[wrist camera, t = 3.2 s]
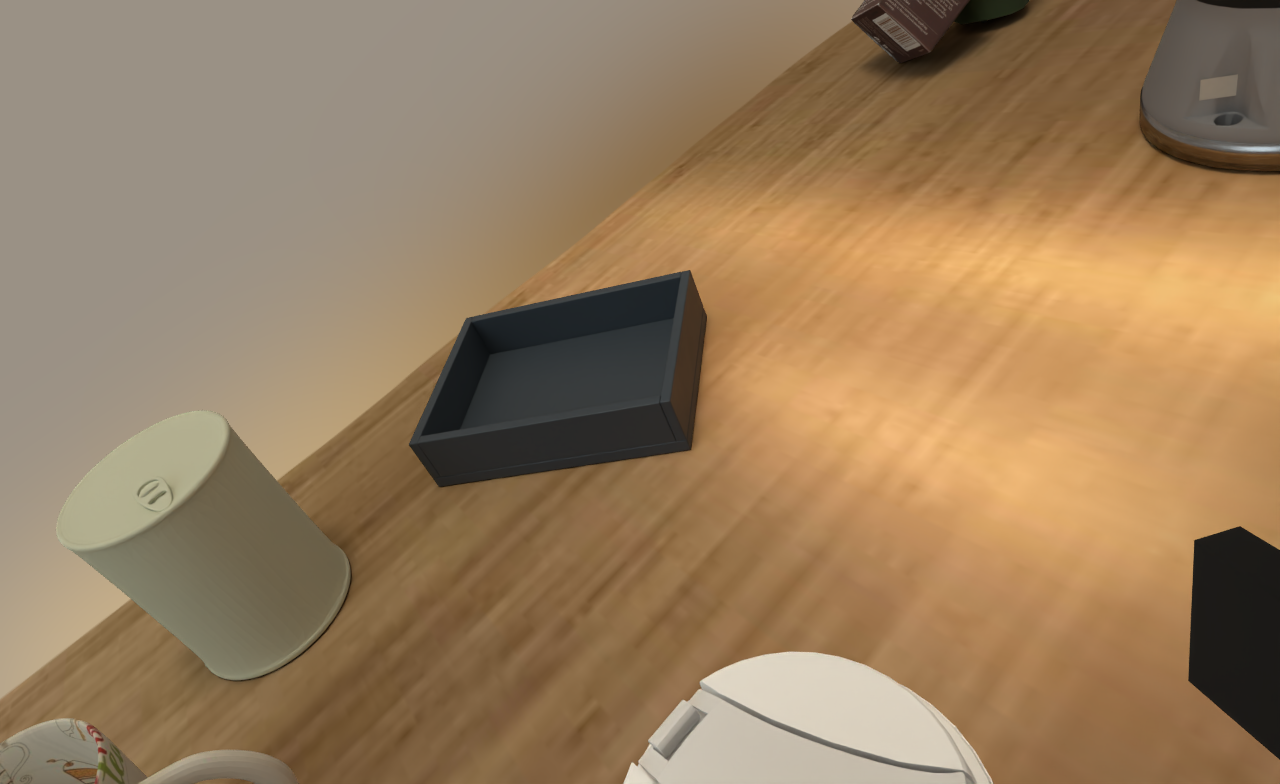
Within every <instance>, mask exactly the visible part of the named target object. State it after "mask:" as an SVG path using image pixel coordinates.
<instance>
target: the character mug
mask: <svg viewBox="0 0 1280 784" xmlns="http://www.w3.org/2000/svg"><path fill="white" fill-rule="evenodd" d="M1028 2H1029V0H970V1H969V2H968V3H967V5H966V6H965V7H964V9H963V10H962V11H961V13H960V14H959V15H958V17H957V18H956V19H955V21H954V22H956V23H959V24H967V23H972V22H978V21H981V23H986V22H987V20H989V19H994V18H998V17H1002V16H1006V15H1010V14H1012V13H1014V12H1016V11H1019V10H1021V9H1023V8H1024V7H1025V6H1026V4H1027V3H1028Z"/></svg>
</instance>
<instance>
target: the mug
mask: <svg viewBox="0 0 1280 784" xmlns="http://www.w3.org/2000/svg"><path fill="white" fill-rule="evenodd" d="M218 778H234V779H242V780H247V781H250V782H253V783H255V784H298V781H297V778H296V776H295V774H294V773H293V771H292V770H291V769H290V768H289V767H288V766H287V765H286V764H285V763H283V762H282V761H280V760H278V759H276V758H274V757H272V756H269V755H266V754H263V753H259V752H253V751H244V750H216V751H207V752H202V753H198V754H195V755H191V756H189V757H186V758H184V759H182V760H180V761H177V762H175V763H173V764H171V765H170V766H168V767H166V768H164V769H162V770H160V771H159V772H157V773H155V774H153V775H152V776H150V777H147V776H146V775H145V774H144V773H143V772H142V771H141V770H140V769H139V768H138V767H137V766H136V765H135V764H134V763H133V762H132V761H130V760H129V759H128V758H127V757H126V756H125V755H124V754H123V753H122V752H121V751H120V750H119V749H118V748H117V747H116V746H115V745H114V744H113V743H112V742H111V741H110V740H109V739H108V738H107V737H106V736H105V735H104V734H103V733H101V732H100V731H99V730H98V729H97V728H95V727H94V726H92V725H91V724H89V723H87V722H84V721H81V720H77V719H71V718H64V719H55V720H51V721H47V722H43V723H40V724H37V725H35V726H32V727H30V728H28V729H25V730H23V731H21V732H19V733H17V734H15V735H14V736H12V737H10V738H8V739H7V740H5V741H4V742H2V743H0V784H194V783H197V782H200V781H203V780H210V779H218Z"/></svg>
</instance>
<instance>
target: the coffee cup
mask: <svg viewBox="0 0 1280 784" xmlns="http://www.w3.org/2000/svg"><path fill="white" fill-rule="evenodd" d="M700 686H701V688H702V690H700V689H699V690H698V691H697V692H696V693H695V694H694V695H693V697H692V698H691V699H690V700H689V701H688V702H686V701H684V700H682V701H681V702H680V703H679V705H678V706H677V707H676V708H675V709H674V711H673V712H672V713H671V714H670V715H669V716H668V718H667V719H666V720H665V721H664V722H663V724H662V725H661V726H660V727H659V728H658V729H657V731H656V732H655V733H654V734H653V735H652V737H651V738H650V739H649V740H648V742H649V743H650V745H649V746H648V748H647V750H646V752H645V753H644V755H643V756H642V757H641V758H640V760H639V761H638V762H639V764H638V766H636V765H635V764H634V763H633V762H632V763H631V766H630V768H629V771H628V773H627V776H626V779H625V781H624V784H993V781H992V779H991V777H990V776H989V774H988V772H987V770H986V769H985V767H984V765H983V764H982V762H981V760H980V758H979V757H978V755H977V753H976V752H975V750H974V749H973V748H972V746H971V745H970V744H969V743H968V741H967V740H966V739H965V738H964V736H963V735H962V734H961V733H960V731H959V730H958V729H957V728H956V726H955V725H953V724H952V723H951V722H950V721H949V720H948V719H947V718H946V717H945V716H944V715H943V714H942V713H941V712H939V711H938V710H937V709H936V708H935V707H934V706H933V705H932V704H930V703H929V702H927V701H926V700H924V699H923V698H922V697H920V696H919V695H917V694H916V693H914V692H913V691H911V690H910V689H909V688H907V687H905V686H903V685H901V684H899V683H897V682H896V681H894V680H893V679H891V678H890V677H888V676H886V675H884V674H882V673H880V672H878V671H876V670H874V669H872V668H870V667H868V666H866V665H864V664H861V663H858V662H854V661H851V660H848V659H845V658H842V657H838V656H832V655H826V654H820V653H814V652H783V653H774V654H766V655H762V656H758V657H754V658H750V659H746V660H742V661H740V662H737V663H735V664H732V665H730V666H728V667H725V668H723V669H720V670H718V671H717V672H715V673H713V674H711V675H710V676H708V677H706V678H705V679H703V680H701V681H700Z"/></svg>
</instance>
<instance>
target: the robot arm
mask: <svg viewBox="0 0 1280 784" xmlns="http://www.w3.org/2000/svg"><path fill="white" fill-rule="evenodd" d="M1140 125H1141V129H1142V131H1143V133H1144V135H1145V136H1146V138H1147V139H1148V140H1149V141H1150V142H1151V143H1152V144H1153V145H1155V146H1156V147H1158V148H1159V149H1161V150H1162V151H1164V152H1166V153H1168V154H1170V155H1173V156H1175V157H1177V158H1180V159H1183V160H1186V161H1189V162H1193V163H1197V164H1201V165H1206V166H1211V167H1217V168H1225V169H1234V170H1250V171H1280V0H1177V1H1176V4H1175V6H1174V9H1173V11H1172V14H1171V16H1170V19H1169V21H1168V24H1167V26H1166V29H1165V31H1164V34H1163V36H1162V39H1161V41H1160V44H1159V46H1158V49H1157V51H1156V54H1155V56H1154V59H1153V61H1152V64H1151V66H1150V69H1149V71H1148V74H1147V76H1146V79H1145V82H1144V85H1143V87H1142V90H1141V97H1140ZM1188 681H1189V682H1190V683H1192V684H1193V685H1194V686H1195V687H1196V688H1197V689H1199V690H1200V691H1201V692H1202V693H1203V694H1204V695H1205V696H1207V697H1208V698H1209V699H1210V700H1211V701H1212V702H1214V703H1215V704H1216V705H1217V706H1218V707H1219V708H1220V709H1222V710H1223V711H1224V712H1225V713H1226V714H1227V715H1229V716H1230V717H1231V718H1232V719H1233V720H1234V721H1236V722H1237V723H1238V724H1239V725H1240V726H1241V727H1242V728H1244V729H1245V730H1246V731H1247V732H1248V733H1249V734H1251V735H1252V736H1253V737H1254V738H1255V739H1256V740H1258V741H1259V742H1260V743H1261V744H1262V745H1263V746H1264V747H1266V748H1267V749H1268V750H1269V751H1270V752H1271V753H1273V754H1274V755H1275V756H1276V757H1277V758H1278V759H1280V550H1278V549H1277V548H1275V547H1273V546H1272V545H1270V544H1268V543H1267V542H1265V541H1264V540H1262V539H1260V538H1259V537H1257V536H1255V535H1254V534H1252V533H1250V532H1249V531H1247V530H1245V529H1244V528H1242V527H1240V526H1239V527H1236V528H1233V529H1230V530H1226V531H1223V532H1220V533H1217V534H1213V535H1210V536H1207V537H1204V538H1200V539H1197V540H1194V562H1193V585H1192V608H1191V631H1190V655H1189V678H1188Z"/></svg>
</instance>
